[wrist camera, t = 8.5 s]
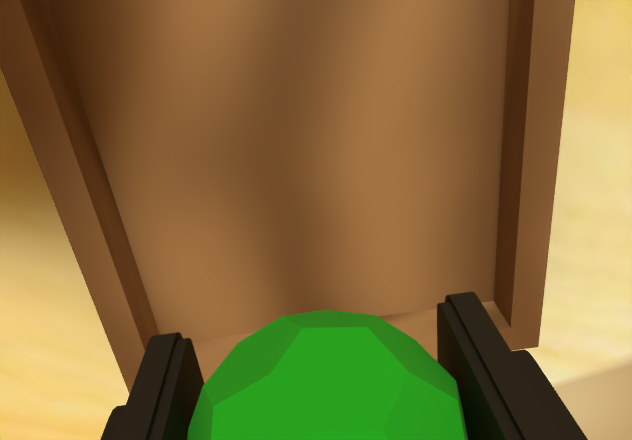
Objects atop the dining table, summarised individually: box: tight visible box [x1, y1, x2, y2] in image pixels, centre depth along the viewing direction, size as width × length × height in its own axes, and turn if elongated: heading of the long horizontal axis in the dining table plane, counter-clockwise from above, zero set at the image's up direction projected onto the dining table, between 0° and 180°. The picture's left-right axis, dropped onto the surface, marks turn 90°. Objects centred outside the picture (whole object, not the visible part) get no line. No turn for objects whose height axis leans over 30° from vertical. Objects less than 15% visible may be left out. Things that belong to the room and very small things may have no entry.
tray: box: [0, 0, 575, 394], centre depth 14 cm, size 14×18×2 cm
